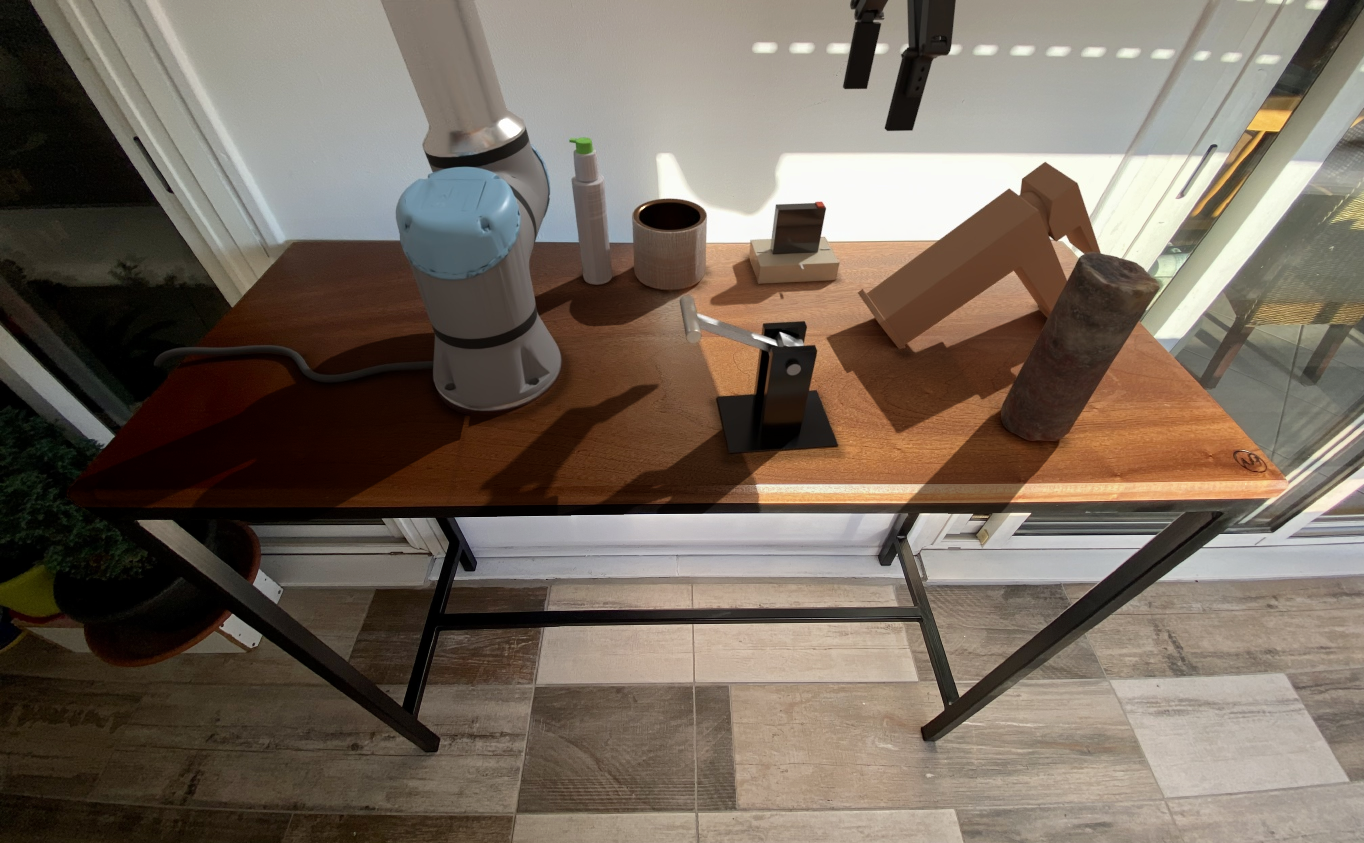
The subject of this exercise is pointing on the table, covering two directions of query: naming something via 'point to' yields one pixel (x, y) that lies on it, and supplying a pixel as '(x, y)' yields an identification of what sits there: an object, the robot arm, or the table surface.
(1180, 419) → the table surface
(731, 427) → the bracket
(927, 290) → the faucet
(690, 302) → the tap lever
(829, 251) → the beige slotted base block
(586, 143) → the bottle
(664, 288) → the planter
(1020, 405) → the grey-brown thick cylinder
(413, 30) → the robot arm
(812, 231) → the red-tipped grey panel
